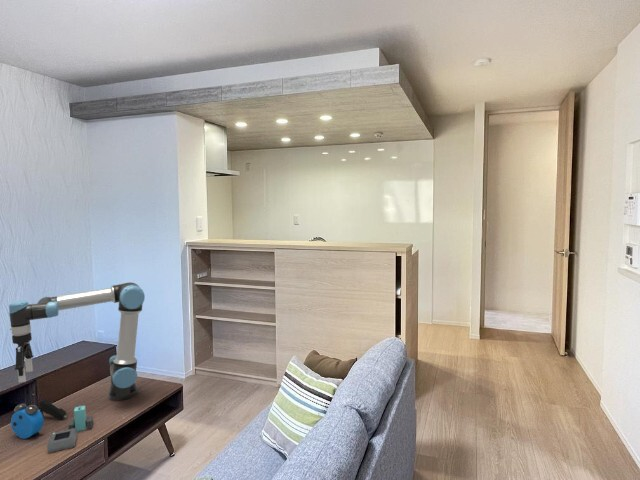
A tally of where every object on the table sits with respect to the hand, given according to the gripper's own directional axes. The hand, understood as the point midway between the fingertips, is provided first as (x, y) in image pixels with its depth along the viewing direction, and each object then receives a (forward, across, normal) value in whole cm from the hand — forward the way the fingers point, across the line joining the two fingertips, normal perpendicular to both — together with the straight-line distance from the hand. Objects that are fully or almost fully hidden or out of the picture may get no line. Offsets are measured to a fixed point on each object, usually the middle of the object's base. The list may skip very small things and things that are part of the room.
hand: (26, 376), depth 201 cm
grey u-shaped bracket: (+26, +13, +23) cm, 37 cm away
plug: (+26, +13, +23) cm, 37 cm away
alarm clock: (+26, +9, +1) cm, 27 cm away
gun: (+26, -5, +8) cm, 28 cm away
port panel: (+26, +25, +17) cm, 39 cm away
